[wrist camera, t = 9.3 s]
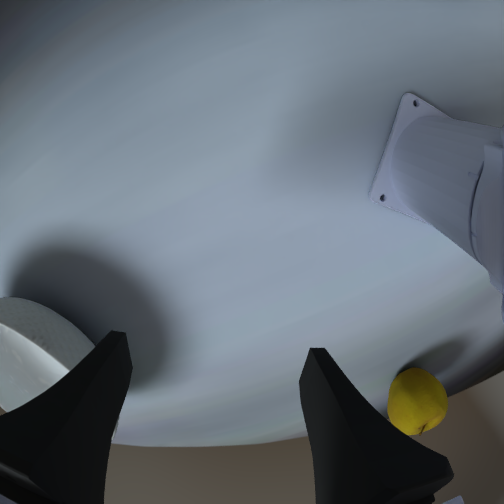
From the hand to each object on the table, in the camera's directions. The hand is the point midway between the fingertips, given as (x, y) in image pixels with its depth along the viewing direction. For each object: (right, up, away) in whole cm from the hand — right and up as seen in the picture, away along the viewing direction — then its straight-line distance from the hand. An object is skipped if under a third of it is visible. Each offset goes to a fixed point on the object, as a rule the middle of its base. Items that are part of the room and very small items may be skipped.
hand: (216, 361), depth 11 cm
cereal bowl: (-18, -5, +14) cm, 23 cm away
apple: (+18, -9, +17) cm, 26 cm away
